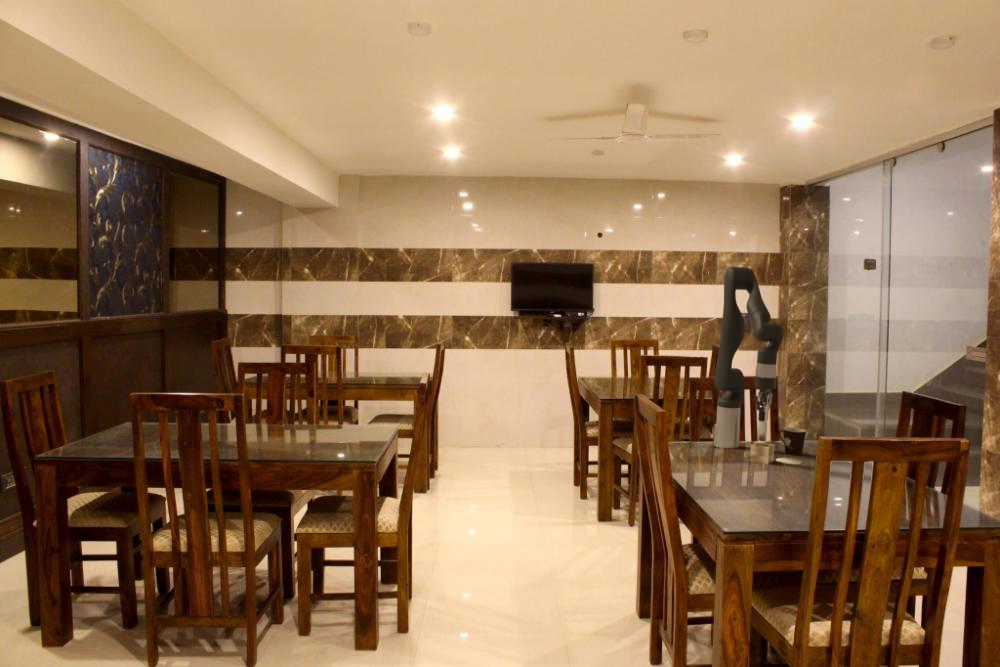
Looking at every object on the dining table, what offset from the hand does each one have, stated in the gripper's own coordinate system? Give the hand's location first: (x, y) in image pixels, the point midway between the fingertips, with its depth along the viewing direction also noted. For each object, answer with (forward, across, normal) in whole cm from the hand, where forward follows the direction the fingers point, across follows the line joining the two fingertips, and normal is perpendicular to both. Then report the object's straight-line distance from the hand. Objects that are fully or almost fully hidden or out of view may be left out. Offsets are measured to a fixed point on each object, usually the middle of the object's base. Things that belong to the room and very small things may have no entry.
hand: (763, 420), depth 274 cm
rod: (+8, 0, 0) cm, 8 cm away
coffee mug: (+17, -26, +4) cm, 31 cm away
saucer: (+17, -7, +8) cm, 20 cm away
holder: (+17, 0, 0) cm, 17 cm away
